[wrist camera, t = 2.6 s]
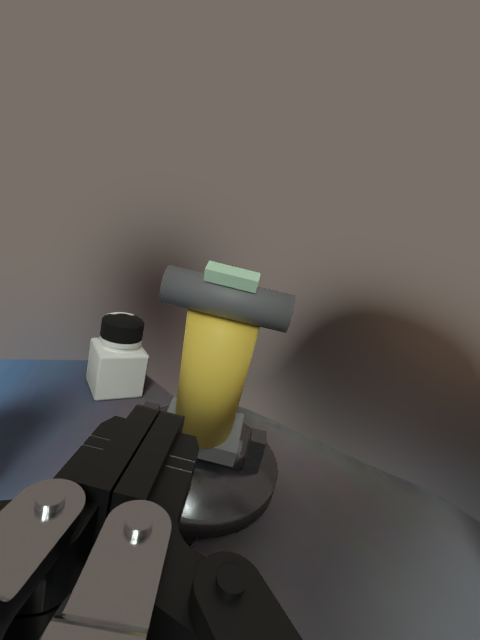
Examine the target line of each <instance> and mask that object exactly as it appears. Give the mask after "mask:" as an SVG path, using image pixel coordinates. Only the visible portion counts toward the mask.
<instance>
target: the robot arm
mask: <svg viewBox="0 0 480 640" xmlns="http://www.w3.org/2000/svg"><path fill="white" fill-rule="evenodd" d="M184 419H185V416H182V415H178V414H174V413H170V412H166V411H161V410H158V409H154V408H150V407H146V406H142V405H136V406H135V408H134V409H133V410H132V412H131V413H130V414H129V416H128V417H127V418H126V419H125V418H121V417H118V416H114V417H112V418H111V419H109V420H107V421H105V422H103V423H101V424H100V425H99V426H98V427H97V429H96V430H95V431H94V432H93V433H92V435H91V436H90V437H89V438H88V439H87V440H86V441H85V442H84V444H83V446H81V447H80V448H79V449H78V450H77V452H76V453H75V454H74V455H73V456H72V457H71V458H70V460H69V461H68V462H67V463H66V464H65V465H64V467H63V468H62V469H61V470H60V471H59V472H58V473H57V475H56V476H55V477H54V478H53V479H47V480H43V481H40V482H37V483H34V484H32V485H30V486H29V487H27V488H25V489H24V490H23V491H22V492H20V493H19V494H18V495H17V496H16V497H15V498H14V499H13V500H3V501H0V640H302V638H301V637H300V635H299V634H298V632H297V631H296V629H295V627H294V626H293V624H292V623H291V621H290V620H289V618H288V617H287V615H286V613H285V612H284V610H283V609H282V607H281V606H280V604H279V603H278V601H277V599H276V598H275V596H274V595H273V593H272V592H271V590H270V589H269V587H268V585H267V584H266V582H265V581H264V579H263V578H262V576H261V575H260V573H259V571H258V570H257V569H256V567H255V566H254V565H253V564H252V563H251V562H250V561H248V560H247V559H246V558H244V557H242V556H241V555H238V554H235V553H232V552H217V553H214V554H211V555H209V556H207V557H206V558H205V557H204V556H202V555H201V554H199V553H198V552H196V551H195V550H193V549H192V548H191V547H190V546H189V545H188V544H187V543H186V542H185V541H184V540H183V538H182V536H181V534H180V532H179V529H178V527H179V523H180V520H181V516H182V513H183V510H184V507H185V504H186V500H187V497H188V494H189V491H190V487H191V482H192V478H193V474H194V470H195V465H196V461H197V457H198V453H199V445H198V442H197V438H196V436H192V435H188V434H184V433H182V429H183V425H184ZM73 588H74V590H73ZM72 591H73V592H72Z"/></svg>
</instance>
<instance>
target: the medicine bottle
mask: <svg viewBox="0 0 480 640" xmlns="http://www.w3.org/2000/svg"><path fill="white" fill-rule="evenodd" d="M143 330H144V322H143V320H142V319H141V318H139V317H137V316H135V315H133V314H129V313H124V312H114V313H109V314H106V315H105V316H104V317H103V318H102V324H101V332H100V338H92V339H91V342H90V351H89V359H88V366H87V374H86V379H87V382H88V384H89V387H90V390H91V393H92V395H93V398H94V400H95V401H100V400H112V399H124V398H137V397H142V395H143V389H144V384H145V378H146V372H147V367H148V361H149V356H148V354H147V353H146V352H145V350H144V349H143V347H142V346H141V342H142V336H143Z"/></svg>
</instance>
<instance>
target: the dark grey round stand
mask: <svg viewBox="0 0 480 640" xmlns="http://www.w3.org/2000/svg"><path fill="white" fill-rule="evenodd" d="M143 406H146V407H150V408H154V409H158V410H161V411H166V412H167V410H168V408H169V406H168V407H161V408H160V405H159V404H155V403H151V402H147V401H146V402H145V404H144V405H143ZM240 440H242V441H243V443H242V448H241V453H240V456H239V458H237V457H236V458H235V461H234V465H233V467H230V466H226V465H222V464H218V463H214V462H210V461H206V460H202V459H198V458H197V461H196V465H195V470H194V474H193V478H192V482H191V487H190V491H189V494H188V497H187V500H186V504H185V507H184V510H183V513H182V516H181V520H180V523H179V527H178V529H179V532H180V534H181V536H182V538H183V540H184V541H185V542H186V543H187V544H188V545H189V546H190V545H191V544H192V543H193V542H194V539H195V537H215V536H221V535H226V534H230V533H233V532H236V531H239V530H241V529H243V528H245V527H247V526H249V525H250V524H252V523H253V522H255V521H256V520H257V519H258V518H259V517H260V516H261V515H262V514H263V513H264V512H265V510H266V509H267V507H268V505H269V503H270V501H271V498H272V495H273V491H274V488H275V485H276V481H277V476H278V469H277V463H276V459H275V456H274V454H273V452H272V450H271V449H270V447H269V446H268V444H267V443H266V431H262V430H258V429H254V428H252V429H251V428H250V427H248V426H247V425H245V424H244V423H243V424H242V429H241V435H240Z"/></svg>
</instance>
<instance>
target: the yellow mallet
mask: <svg viewBox="0 0 480 640" xmlns="http://www.w3.org/2000/svg"><path fill="white" fill-rule="evenodd" d="M259 278H260V273H257V272H254V271H250V270H245V269H241V268H237V267H233V266H229V265H225V264H221V263H217V262H213V261H209V263H208V265H207V266H206V268H205V273H201V272H196V271H192V270H188V269H184V268H180V267H176V266H172V265H169V266H168V267H167V269H166V271H165V273H164V276H163V279H162V282H161V288H160V301H161V302H162V303H166V304H171V305H175V306H179V307H183V308H187V309H188V312H187V320H186V328H185V336H184V344H183V353H182V361H181V369H180V377H179V386H178V394H177V397H175V396H173V399H172V401H171V403H170V406H169V408H168V410H167V412H170V413H174V414H178V415H182V416H185V419H184V425H183V429H182V433H184V434H188V435H192V436H196V438H197V442H198V445H199V453H198V457H197V458H198V459H202V460H206V461H210V462H214V463H218V464H222V465H226V466H230V467H233V465H234V461H235V458H236V457H237V458H239V456H240V453H241V448H242V443H243V441H242V440H240V435H241V429H242V424H243V419H244V414H242V413H238V412H237V408H238V405H239V401H240V397H241V394H242V390H243V387H244V382H245V379H246V376H247V372H248V368H249V365H250V361H251V357H252V354H253V350H254V347H255V343H256V339H257V336H258V332H259V328H260V327H264V328H268V329H272V330H276V331H280V332H284V333H286V332H287V330H288V327H289V324H290V321H291V317H292V314H293V309H294V304H295V295H290V294H286V293H282V292H278V291H274V290H270V289H266V288H262V287H258V282H259Z"/></svg>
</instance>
